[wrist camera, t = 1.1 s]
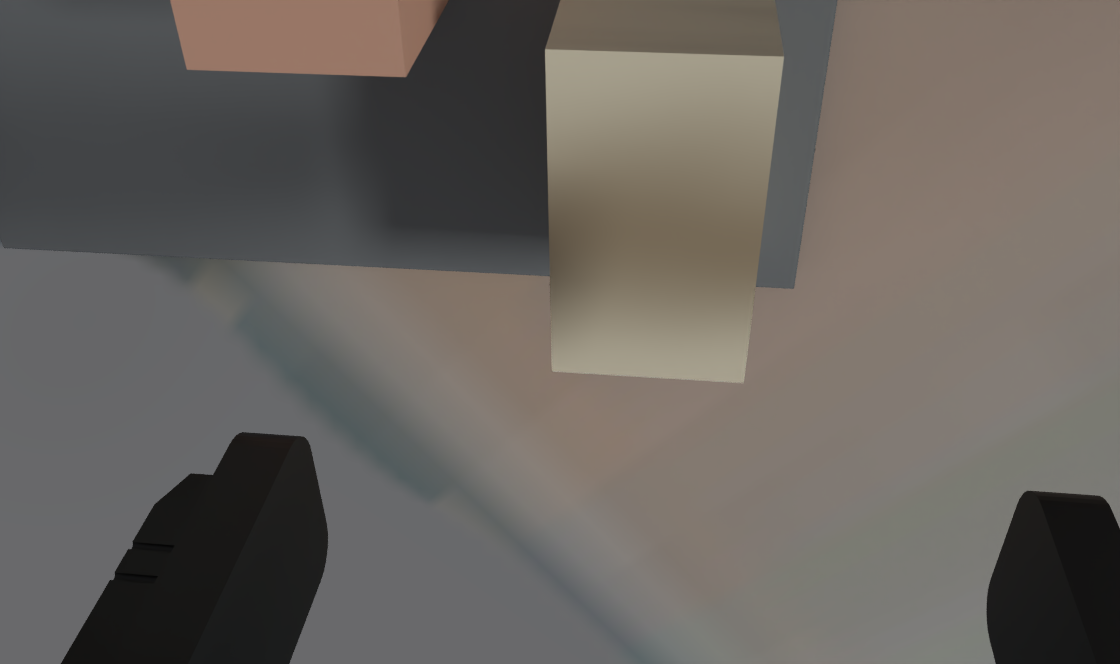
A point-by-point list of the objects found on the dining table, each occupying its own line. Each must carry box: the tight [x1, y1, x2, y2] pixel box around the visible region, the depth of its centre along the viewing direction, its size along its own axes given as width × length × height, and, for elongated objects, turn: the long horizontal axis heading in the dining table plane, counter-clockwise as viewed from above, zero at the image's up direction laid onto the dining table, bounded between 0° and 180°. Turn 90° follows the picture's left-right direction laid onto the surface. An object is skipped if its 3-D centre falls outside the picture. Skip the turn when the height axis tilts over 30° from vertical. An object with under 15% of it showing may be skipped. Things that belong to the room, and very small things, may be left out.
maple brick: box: [545, 0, 784, 383], centre depth 18 cm, size 6×3×4 cm, turn 1°
